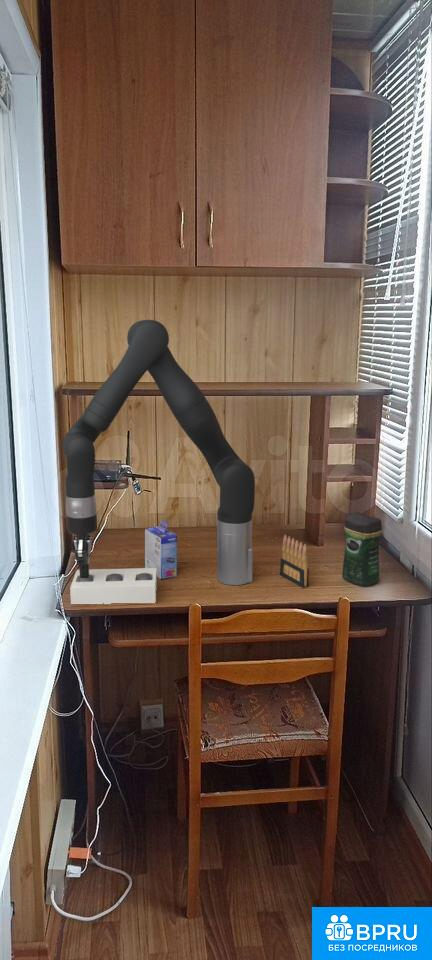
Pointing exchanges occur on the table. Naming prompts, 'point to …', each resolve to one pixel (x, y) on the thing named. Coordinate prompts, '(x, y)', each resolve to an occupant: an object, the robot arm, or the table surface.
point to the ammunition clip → (294, 562)
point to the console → (115, 587)
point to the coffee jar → (362, 549)
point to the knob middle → (115, 577)
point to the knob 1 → (85, 579)
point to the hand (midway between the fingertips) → (84, 576)
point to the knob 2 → (144, 576)
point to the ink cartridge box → (161, 551)
